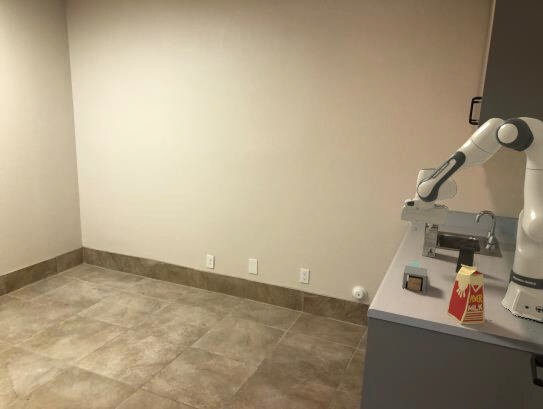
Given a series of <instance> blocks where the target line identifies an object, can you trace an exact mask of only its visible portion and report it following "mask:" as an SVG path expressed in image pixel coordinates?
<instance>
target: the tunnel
mask: <svg viewBox="0 0 543 409" xmlns="http://www.w3.org/2000/svg"><path fill="white" fill-rule="evenodd" d="M403 270H404V271H403V276H402V277H403V278H402V284H401V287H402V289H406V288H407V283H408V276H409V275H411V276H417V277H423V281H422V285H421V286H422V287H421V292H422V293H425V292H426V287H427V280H428V268H423V267H420V268H419V267H413V266H410V265H406V264H405V266H404V269H403Z"/></svg>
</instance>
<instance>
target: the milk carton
mask: <svg viewBox="0 0 543 409" xmlns="http://www.w3.org/2000/svg"><path fill="white" fill-rule="evenodd" d="M461 265H462V264H461ZM478 268H479V267H478V266H473V267H469V266H466V265H462V268H461V269H460V270H459V272H458V273H457V272H456V276H455V280H454V283H453V287H452V290H451V295H450V298H449V302H448V308H447V313H446V314H447V315H448V316H450V317H452V318H453V320H455V321H456V322H458V324H460V325H473V324H476V325H477V324H485V319H486V318H485V294H484V293H485V292H484V291H485V290H484V289H485V288H484V274H483V273H482V272H480V271H478Z"/></svg>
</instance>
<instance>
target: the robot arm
mask: <svg viewBox="0 0 543 409" xmlns="http://www.w3.org/2000/svg"><path fill="white" fill-rule="evenodd" d="M501 147H504V148H507V149H510V150H513V151H516V152H519V153H521V152H524V153H525V155H526V166H525V173H524V185H523V202H524V203H523V208H522V210H521V211H520V213H519V215H518V222H517V231H516V245H515V246H516V247H515V252H514V259H513V266H512V268H511V270H510V272H509V278H508V287H507V291H506V293H505V295H504V298H503V299H502V301H501V305H502V306H503V308H505V309H506V308H507V309H506V310H508V309H509V310H510V311H511V312H512V313H511V312H510V311H509V310H508V311H509V312H510V313H511V314H512V315H513V314H514V315H513V316H515V315H516V316H515V317H518V316H521V317H525V318H532V319H537V320H542V319H541V318H543V119H540V118H536V117H528V116H527V117H526V116H524V117H523V116H521V117H511V118H508V119H506V120H505V119H502V118H500V117H499V118H498V117H492V118H489V119H488V120H486V122H484V123H483V124H481V125H480V127H478V128H477V130H475V131H474V133H473V134H472V135H471V136H470V137H469V138H468V139H467V140H466V142H465V143H464V144H462V145H461V147H459V148H458V149H457V150H456V151H455V152H453V154H451V155H450V156H448V158H447V159H446V160H444V162H442V163H441V164H440V165H439V166H438V168H435V167H434V168H423V169H420V170H419V171H418V174H417V177H416V178H417V179H416V185H415V186H416V192H415V195H414V197H412V198H411V197H410V198H406V199H405V200H404V205H403V206H402V208H401V211H400V215H399V219H400V221H405V222H411V225H412V227H413V232H417V231H418V226H416V225H415V224H416V223H422V224H426V223H428V224H429V228H426V233H429V229H430V228H431V227H432V224H437V225H438V226H445V225H446V224H447V215H448V214H449V207H448V206H447V205H446V204H439V203H436V201H445V200H451V199H452V198H454V197H455V196H456V195H457V191H458V186H457V183H456V181H455V180H454V179H452V177H453V176H454V175H455V174H457V173H458V172H460V171H463V170H465V169H468V168H473V167H477V166H480V165H482V164H484V163H485V162H487V161H488V160H490V159H491V158H492V157H494V155H495V154H496V153H497V152H498V151H499V150H500V148H501ZM521 317H520V318H521ZM525 318H524V319H525Z"/></svg>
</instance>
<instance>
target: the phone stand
mask: <svg viewBox="0 0 543 409" xmlns="http://www.w3.org/2000/svg"><path fill="white" fill-rule="evenodd" d="M475 250H476V247H473V246H469V245H467V246H466V245H462V244H461V245H460V247H459V251H458V258H457V262H456V268H455V273H456V274H457V273H458V272H459V270H460V269H461V268H462V265H466V266H469V267H474V259H475V258H474V257H475ZM461 264H462V265H461Z"/></svg>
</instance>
